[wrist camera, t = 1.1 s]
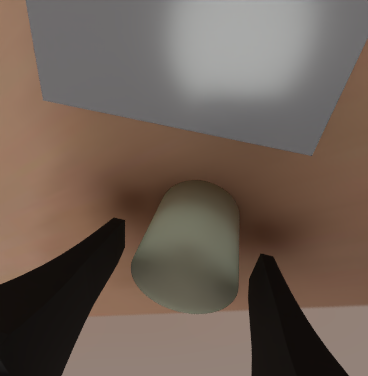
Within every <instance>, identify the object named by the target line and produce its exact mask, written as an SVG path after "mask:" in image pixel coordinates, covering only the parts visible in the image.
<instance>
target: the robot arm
mask: <svg viewBox="0 0 368 376" xmlns="http://www.w3.org/2000/svg"><path fill="white" fill-rule="evenodd" d="M124 248H125V220H122V219H118V218H113V219H111V220H110V221H109V222H107V223H106V224H105V225H103V226H102V227H101V228H99V229H98V230H97V231H95V232H94V233H93V234H91V235H90V236H89V237H87V238H86V239H84V240H83V241H82V242H80V243H79V244H77V245H76V246H74V247H73V248H71V249H69V250H68V251H66V252H65V253H63V254H61V255H60V256H58V257H56V258H55V259H53V260H51V261H49V262H48V263H46V264H44V265H42V266H40V267H38V268H36V269H34V270H32V271H30V272H28V273H26V274H24V275H21V276H19V277H17V278H15V279H12V280H10V281H8V282H5V283H3V284H0V376H61V375H62V373H63V371H64V368H65V366H66V364H67V361H68V359H69V357H70V354H71V352H72V350H73V347H74V345H75V343H76V341H77V339H78V336H79V334H80V332H81V330H82V328H83V325H84V323H85V321H86V319H87V317H88V315H89V313H90V311H91V309H92V307H93V305H94V303H95V301H96V300H97V298H98V296H99V295H100V293H101V291H102V290H103V288H104V286H105V285H106V283H107V281H108V279H109V278H110V276H111V274H112V273H113V271H114V269H115V267H116V266H117V264H118V262H119V259H120V257H121V255H122V253H123V250H124ZM248 303H249V317H250V331H251V344H252V376H349V375H348V374H347V373H346V372H345V370H344V369H343V368H342V367H341V365H340V364H339V363H338V362H337V360H336V359H335V358H334V357H333V355H332V354H331V353H330V352H329V350H328V349H327V348H326V346H325V345H324V343H323V342H322V341H321V339H320V338H319V336H318V335H317V334H316V332H315V331H314V329H313V328H312V326H311V325H310V323H309V322H308V320H307V318H306V317H305V315H304V314H303V312H302V310H301V309H300V307H299V305H298V303H297V302H296V300H295V298H294V296H293V295H292V293H291V291H290V289H289V287H288V285H287V283H286V281H285V279H284V277H283V276H282V273H281V271H280V269H279V267H278V265H277V263H276V261H275V259H274V257H273V256H269V255H265V254H260V256H259V258H258V261H257V263H256V265H255V267H254V269H253V272H252V274H251V276H250V278H249V292H248Z"/></svg>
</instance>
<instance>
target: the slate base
mask: <svg viewBox="0 0 368 376" xmlns="http://www.w3.org/2000/svg"><path fill="white" fill-rule="evenodd" d="M26 5H27V11H28V16H29V22H30V28H31V34H32V39H33V45H34V51H35V56H36V62H37V68H38V74H39V79H40V85H41V91H42V96H43V100H44V101H49V102H54V103H59V104H64V105H68V106H73V107H78V108H83V109H88V110H93V111H97V112H102V113H107V114H112V115H117V116H122V117H126V118H131V119H136V120H141V121H146V122H151V123H155V124H160V125H165V126H170V127H175V128H180V129H184V130H189V131H194V132H199V133H204V134H209V135H213V136H218V137H223V138H228V139H233V140H237V141H242V142H247V143H252V144H257V145H262V146H266V147H271V148H276V149H281V150H286V151H291V152H295V153H300V154H305V155H310V156H312V154H313V152H314V150H315V148H316V146H317V144H318V142H319V140H320V138H321V135H322V133H323V131H324V129H325V127H326V125H327V123H328V121H329V118H330V116H331V114H332V112H333V110H334V108H335V106H336V104H337V102H338V99H339V97H340V95H341V93H342V91H343V89H344V87H345V85H346V83H347V80H348V78H349V76H350V74H351V72H352V70H353V68H354V66H355V63H356V61H357V59H358V57H359V55H360V53H361V51H362V49H363V47H364V44H365V42H366V40H367V38H368V0H26Z"/></svg>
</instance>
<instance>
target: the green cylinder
mask: <svg viewBox="0 0 368 376" xmlns="http://www.w3.org/2000/svg"><path fill="white" fill-rule="evenodd" d="M131 273H132V277H133V279H134V281H135V283H136V285H137V286H138V287H139V289H140V290H141V291H142V292H143V293H144V294H145V295H146V296H148V297H149V298H150V299H152V300H153V301H155V302H156V303H158V304H160V305H162V306H164V307H166V308H169V309H172V310H175V311H179V312H183V313H189V314H207V313H212V312H216V311H219V310H221V309H224V308H225V307H227V306H228V305H229V304H231V303H232V302H233V300H234V299H235V297H236V296H237V293H238V282H239V209H238V206H237V204H236V202H235V200H234V199H233V198H232V196H231V195H230V194H229V193H228V192H227V191H225V190H224V189H223V188H221V187H219V186H217V185H215V184H213V183H210V182H206V181H199V180H191V181H185V182H181V183H179V184H177V185H175V186H173V187H172V188H170V189H169V190H168V191H167V192H166V194H165V195H164V197H163V199H162V201H161V203H160V205H159V207H158V209H157V211H156V213H155V215H154V217H153V219H152V221H151V223H150V225H149V227H148V229H147V231H146V233H145V235H144V237H143V239H142V241H141V243H140V245H139V247H138V249H137V251H136V253H135V255H134V257H133V260H132V263H131Z"/></svg>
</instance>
